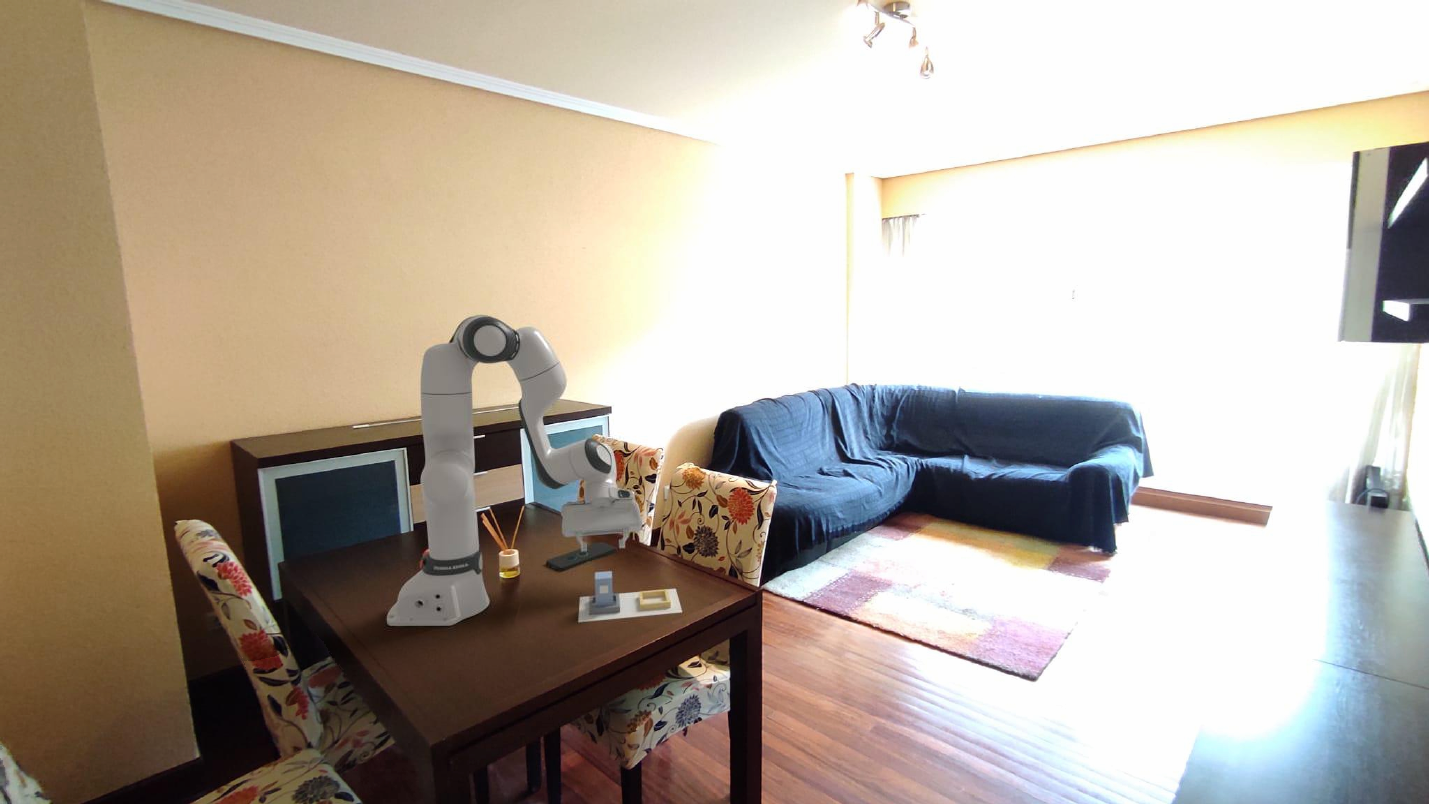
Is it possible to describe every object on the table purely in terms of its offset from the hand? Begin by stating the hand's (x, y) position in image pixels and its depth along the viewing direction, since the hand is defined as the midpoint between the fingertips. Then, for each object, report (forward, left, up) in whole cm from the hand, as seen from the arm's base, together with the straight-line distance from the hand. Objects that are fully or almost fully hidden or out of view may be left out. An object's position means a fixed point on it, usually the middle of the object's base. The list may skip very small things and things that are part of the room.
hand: (603, 548), depth 155 cm
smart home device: (-6, +26, -13) cm, 30 cm away
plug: (0, -8, -11) cm, 14 cm away
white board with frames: (+6, -8, -12) cm, 16 cm away
